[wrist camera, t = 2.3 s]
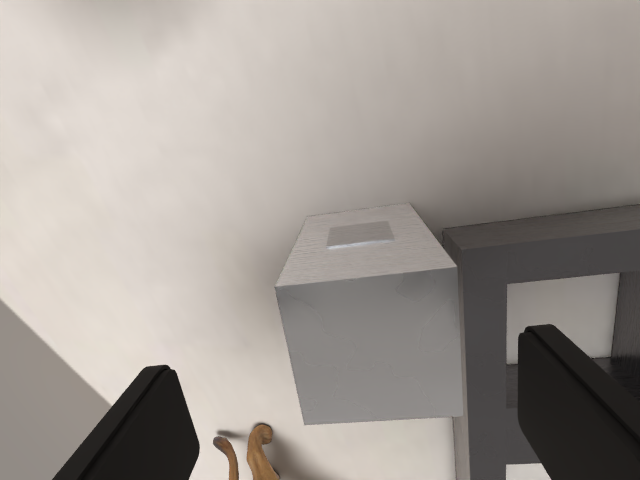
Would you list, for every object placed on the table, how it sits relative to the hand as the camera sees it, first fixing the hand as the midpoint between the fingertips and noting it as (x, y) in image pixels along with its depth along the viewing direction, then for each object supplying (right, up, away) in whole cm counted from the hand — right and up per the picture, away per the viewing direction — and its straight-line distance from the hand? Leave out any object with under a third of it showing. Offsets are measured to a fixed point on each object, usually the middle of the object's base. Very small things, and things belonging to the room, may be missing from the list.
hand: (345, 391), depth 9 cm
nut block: (+2, +3, +8) cm, 9 cm away
